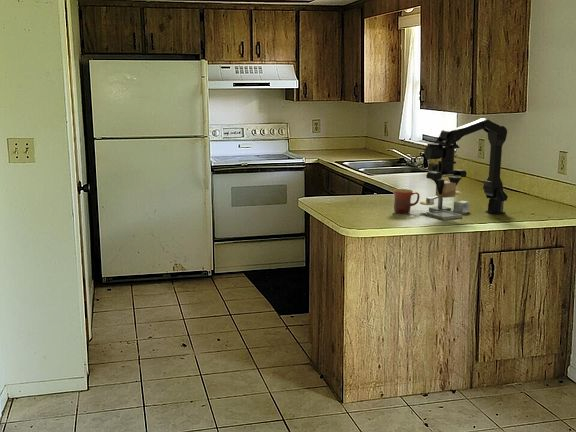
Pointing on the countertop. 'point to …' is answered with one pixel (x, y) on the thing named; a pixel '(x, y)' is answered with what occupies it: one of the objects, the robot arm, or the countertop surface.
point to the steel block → (461, 206)
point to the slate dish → (444, 215)
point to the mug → (403, 200)
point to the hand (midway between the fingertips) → (445, 193)
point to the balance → (440, 200)
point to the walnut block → (447, 190)
